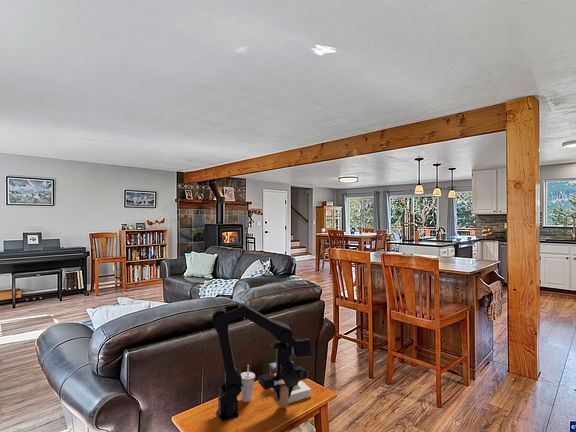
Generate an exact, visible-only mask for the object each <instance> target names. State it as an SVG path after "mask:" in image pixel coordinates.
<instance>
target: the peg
mask: <svg viewBox="0 0 576 432" xmlns="http://www.w3.org/2000/svg"><path fill="white" fill-rule="evenodd" d="M280 381H281V380H280ZM279 385H280V386H281V387H280V389H279V393H280V399H279V401H278V400H277V406H278V407H279V408H282V409H283V408H284V409H285V408H287V407H288V406H289V404H290V403H289V387H287V386H286V384H285V382H284V381H281V382H279Z"/></svg>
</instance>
